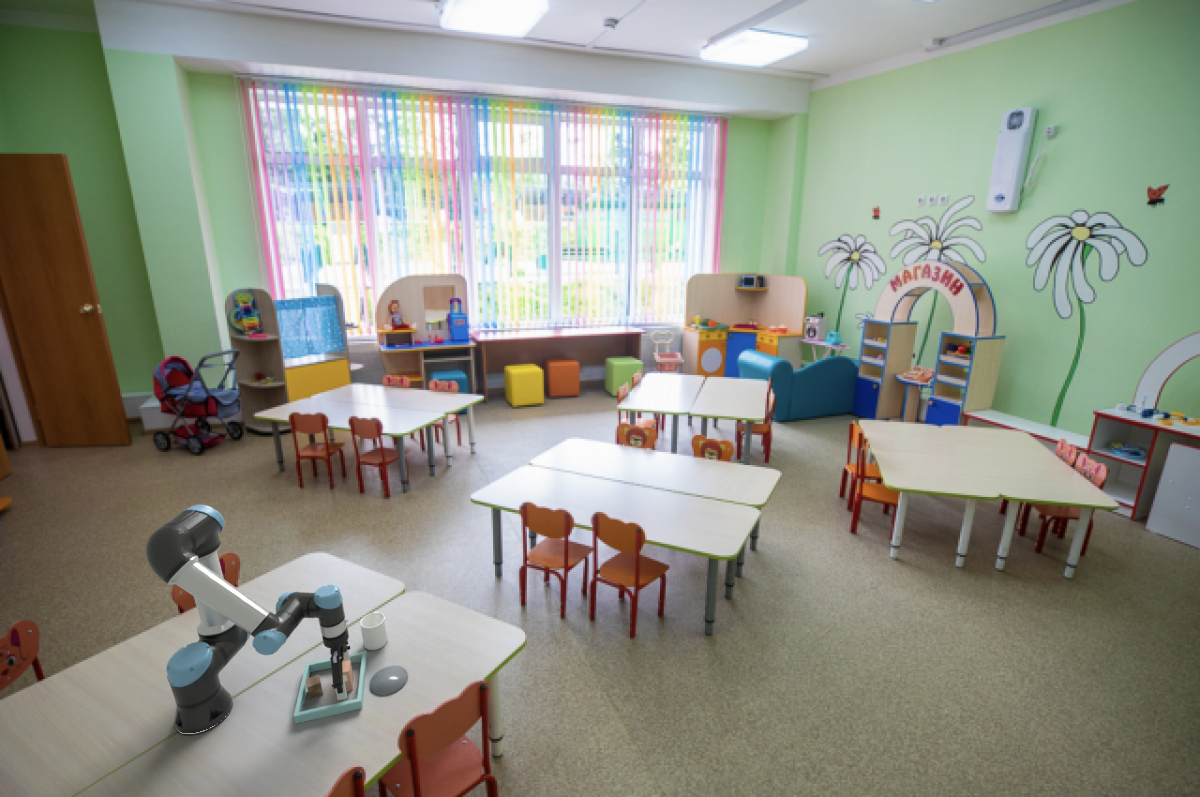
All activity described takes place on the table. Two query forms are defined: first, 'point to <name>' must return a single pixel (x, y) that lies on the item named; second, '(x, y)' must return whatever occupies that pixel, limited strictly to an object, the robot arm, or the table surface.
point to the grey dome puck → (388, 680)
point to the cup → (374, 631)
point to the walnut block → (314, 686)
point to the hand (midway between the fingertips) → (344, 682)
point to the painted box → (347, 675)
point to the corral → (334, 708)
